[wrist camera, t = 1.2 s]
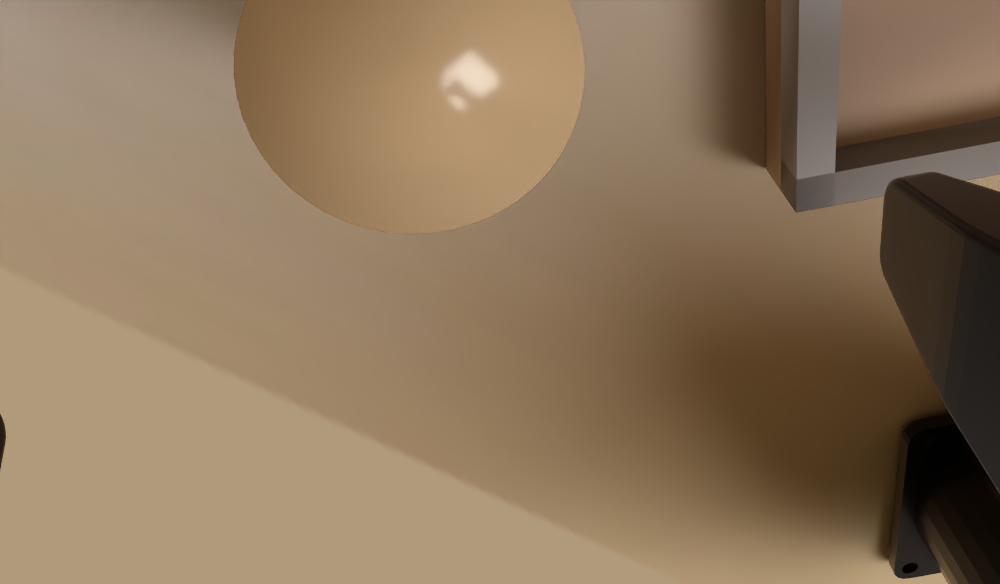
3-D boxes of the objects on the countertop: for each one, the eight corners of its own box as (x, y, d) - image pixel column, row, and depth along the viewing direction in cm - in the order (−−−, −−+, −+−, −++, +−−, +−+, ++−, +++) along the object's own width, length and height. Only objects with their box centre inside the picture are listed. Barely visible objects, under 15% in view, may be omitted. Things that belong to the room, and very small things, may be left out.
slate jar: (552, 62, 20) (602, 200, 15) (319, 107, 20) (292, 260, 15) (515, -201, 17) (561, -134, 12) (243, -146, 17) (181, -59, 12)
